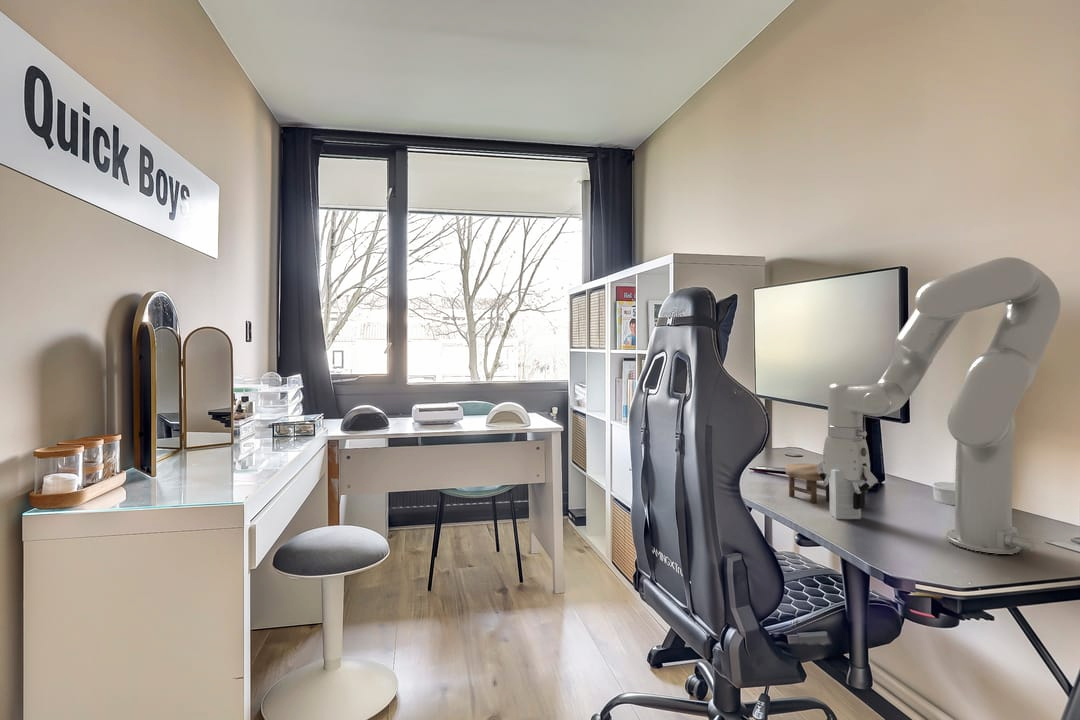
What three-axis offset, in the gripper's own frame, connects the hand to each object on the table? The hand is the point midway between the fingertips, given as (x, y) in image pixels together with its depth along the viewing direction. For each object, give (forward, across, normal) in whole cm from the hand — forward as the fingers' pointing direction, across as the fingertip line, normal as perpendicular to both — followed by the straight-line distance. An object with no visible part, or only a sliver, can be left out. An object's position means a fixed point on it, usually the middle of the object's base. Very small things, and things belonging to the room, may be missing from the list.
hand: (844, 504), depth 141 cm
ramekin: (+4, -6, -35) cm, 36 cm away
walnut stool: (+3, +15, -7) cm, 17 cm away
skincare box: (+3, 0, 0) cm, 3 cm away
